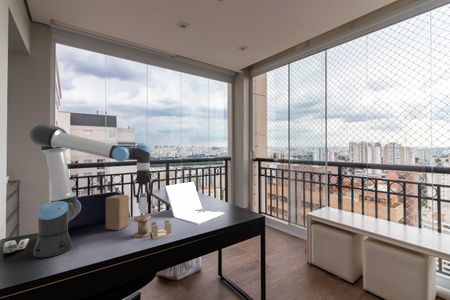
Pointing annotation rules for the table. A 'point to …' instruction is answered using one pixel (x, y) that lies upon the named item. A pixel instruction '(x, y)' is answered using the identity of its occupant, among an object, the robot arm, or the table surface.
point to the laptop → (187, 203)
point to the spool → (142, 226)
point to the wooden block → (117, 212)
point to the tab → (142, 203)
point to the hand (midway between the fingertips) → (142, 207)
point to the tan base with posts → (161, 233)
